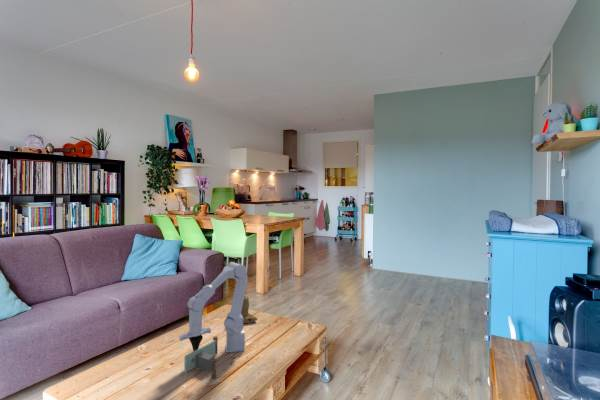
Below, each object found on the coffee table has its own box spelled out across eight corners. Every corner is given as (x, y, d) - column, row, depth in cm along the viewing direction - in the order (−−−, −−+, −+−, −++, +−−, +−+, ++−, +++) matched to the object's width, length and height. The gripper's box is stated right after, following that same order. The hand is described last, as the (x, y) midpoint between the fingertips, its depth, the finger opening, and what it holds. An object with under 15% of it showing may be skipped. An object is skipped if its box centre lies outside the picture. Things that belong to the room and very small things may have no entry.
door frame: (217, 351, 164) (217, 336, 163) (215, 378, 140) (215, 360, 140) (213, 352, 163) (213, 336, 163) (211, 379, 140) (211, 361, 140)
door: (214, 352, 162) (214, 339, 161) (217, 354, 160) (217, 340, 160) (183, 371, 145) (183, 355, 145) (187, 372, 144) (187, 357, 144)
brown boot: (229, 318, 207) (230, 295, 206) (246, 314, 214) (246, 291, 213) (240, 326, 194) (240, 301, 194) (257, 322, 201) (258, 298, 201)
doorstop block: (214, 368, 148) (214, 355, 148) (208, 373, 145) (208, 359, 145) (202, 363, 152) (202, 351, 152) (195, 367, 149) (195, 355, 149)
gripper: (206, 316, 160) (206, 343, 161) (177, 324, 151) (176, 352, 151) (212, 321, 155) (212, 349, 155) (182, 329, 146) (182, 358, 146)
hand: (195, 351), depth 153 cm, fingers closed
